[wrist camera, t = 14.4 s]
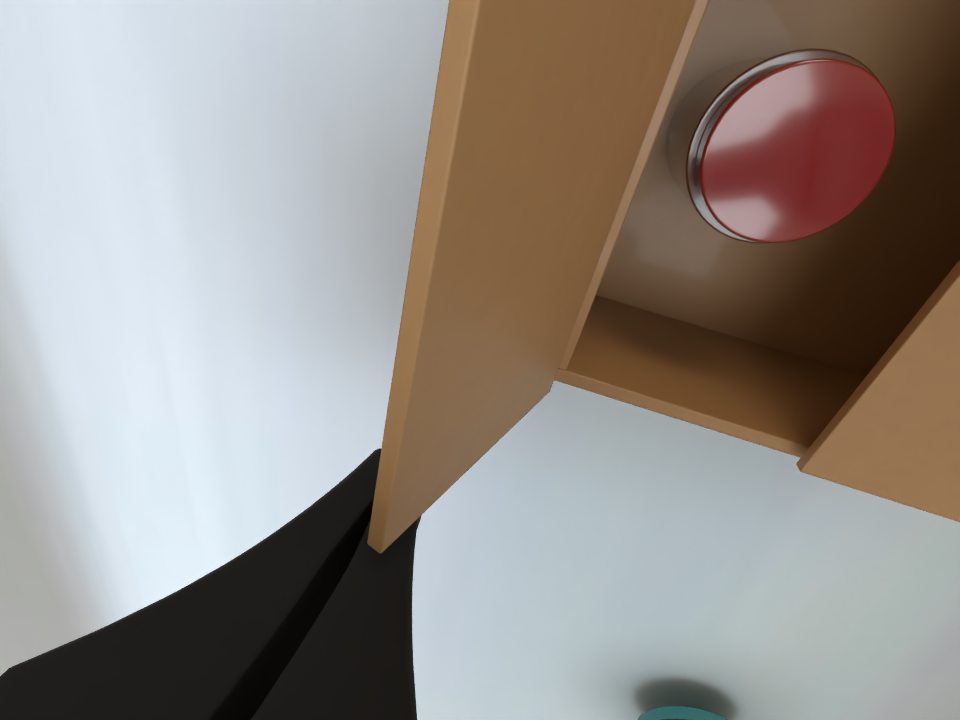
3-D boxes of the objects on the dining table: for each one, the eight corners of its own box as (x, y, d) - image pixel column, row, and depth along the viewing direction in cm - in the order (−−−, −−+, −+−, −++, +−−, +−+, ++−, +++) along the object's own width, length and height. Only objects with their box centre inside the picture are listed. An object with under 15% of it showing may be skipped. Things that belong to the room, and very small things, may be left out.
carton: (564, 291, 18) (544, 392, 12) (729, -186, 11) (868, -486, 5) (905, 394, 17) (1067, 558, 11) (1304, -62, 11) (2243, -261, 4)
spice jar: (845, 79, 13) (962, 75, 9) (767, 221, 15) (831, 273, 11) (701, 42, 13) (747, 21, 9) (645, 187, 15) (660, 225, 11)
